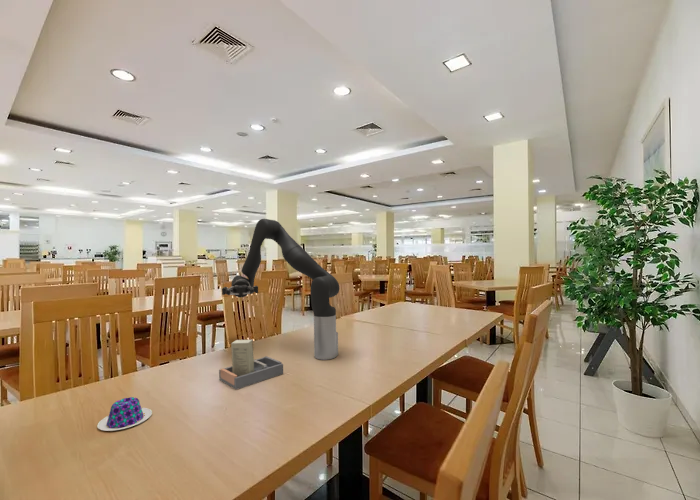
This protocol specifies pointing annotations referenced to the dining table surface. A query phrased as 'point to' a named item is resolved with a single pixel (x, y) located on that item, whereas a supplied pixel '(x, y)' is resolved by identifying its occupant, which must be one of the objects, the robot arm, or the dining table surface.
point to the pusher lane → (251, 374)
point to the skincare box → (242, 357)
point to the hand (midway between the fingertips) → (239, 292)
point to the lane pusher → (259, 365)
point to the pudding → (124, 415)
